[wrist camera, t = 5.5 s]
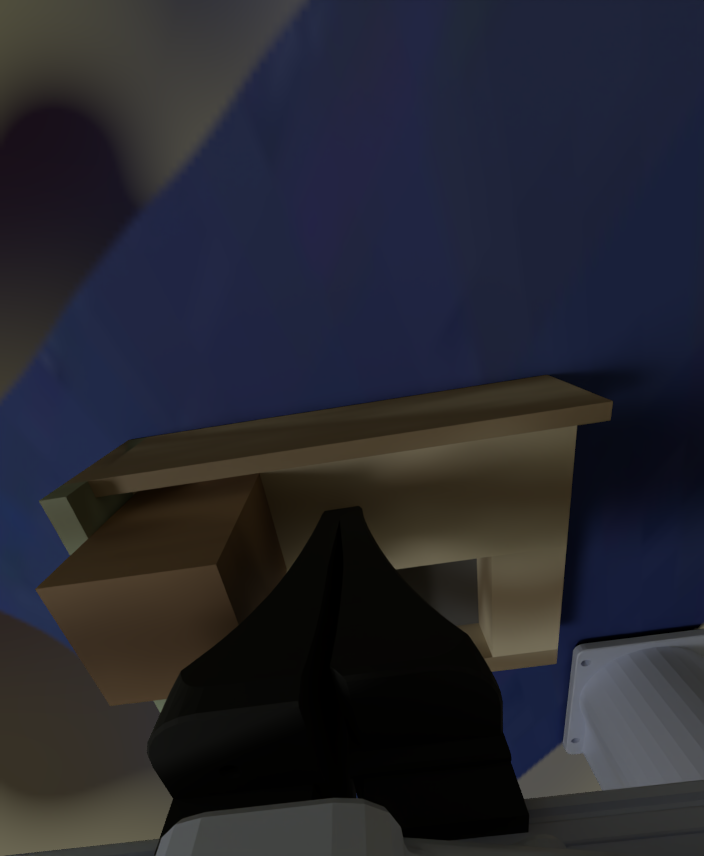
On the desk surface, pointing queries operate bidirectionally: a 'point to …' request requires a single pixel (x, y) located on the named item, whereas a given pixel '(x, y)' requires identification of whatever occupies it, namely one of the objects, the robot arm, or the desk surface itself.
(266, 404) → the desk surface
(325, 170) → the desk surface
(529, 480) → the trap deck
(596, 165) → the desk surface
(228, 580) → the walnut block
